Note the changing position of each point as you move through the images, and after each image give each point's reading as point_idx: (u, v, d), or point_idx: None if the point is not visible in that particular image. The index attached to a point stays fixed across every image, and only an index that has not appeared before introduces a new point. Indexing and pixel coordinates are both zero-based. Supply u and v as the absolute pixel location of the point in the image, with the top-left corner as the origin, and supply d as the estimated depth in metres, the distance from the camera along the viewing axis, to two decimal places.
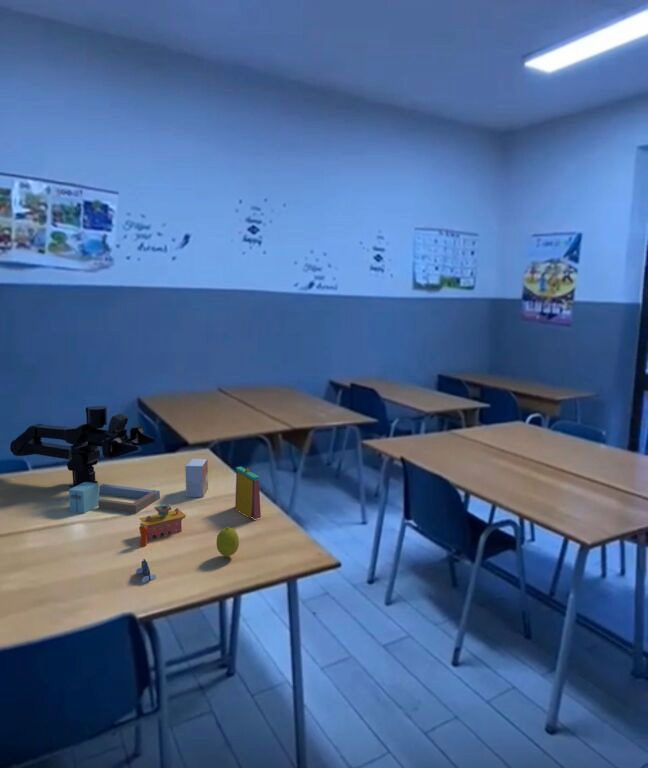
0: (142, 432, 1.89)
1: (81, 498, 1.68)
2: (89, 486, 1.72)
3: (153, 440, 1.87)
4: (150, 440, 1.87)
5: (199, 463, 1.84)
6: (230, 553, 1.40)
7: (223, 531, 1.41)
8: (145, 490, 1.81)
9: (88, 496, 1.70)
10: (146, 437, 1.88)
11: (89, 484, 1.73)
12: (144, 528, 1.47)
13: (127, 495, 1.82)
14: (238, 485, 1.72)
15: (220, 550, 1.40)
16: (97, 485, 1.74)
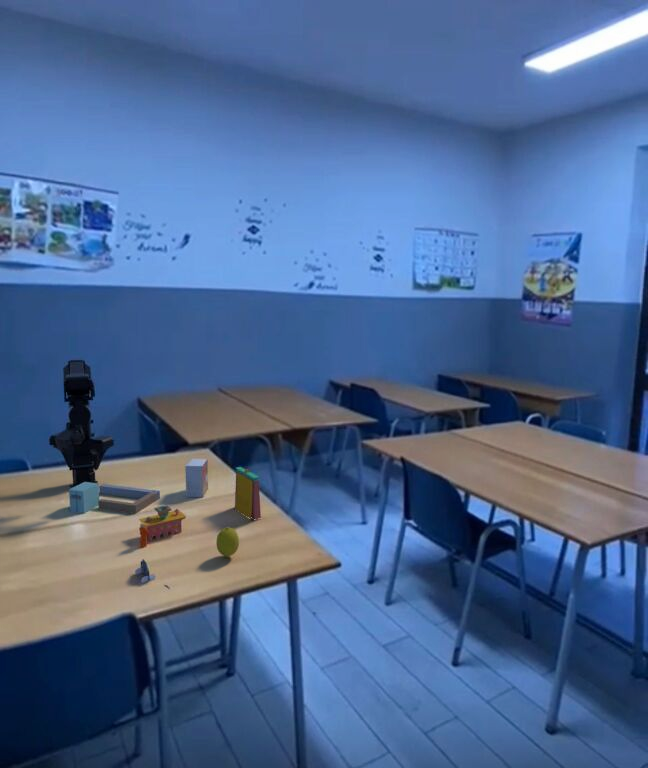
0: (94, 454, 1.67)
1: (81, 498, 1.68)
2: (89, 486, 1.72)
3: None
4: None
5: (199, 463, 1.84)
6: (230, 553, 1.40)
7: (223, 531, 1.41)
8: (145, 490, 1.81)
9: (88, 496, 1.70)
10: None
11: (89, 484, 1.73)
12: (144, 529, 1.47)
13: (127, 495, 1.82)
14: (238, 485, 1.72)
15: (220, 550, 1.40)
16: (97, 485, 1.74)
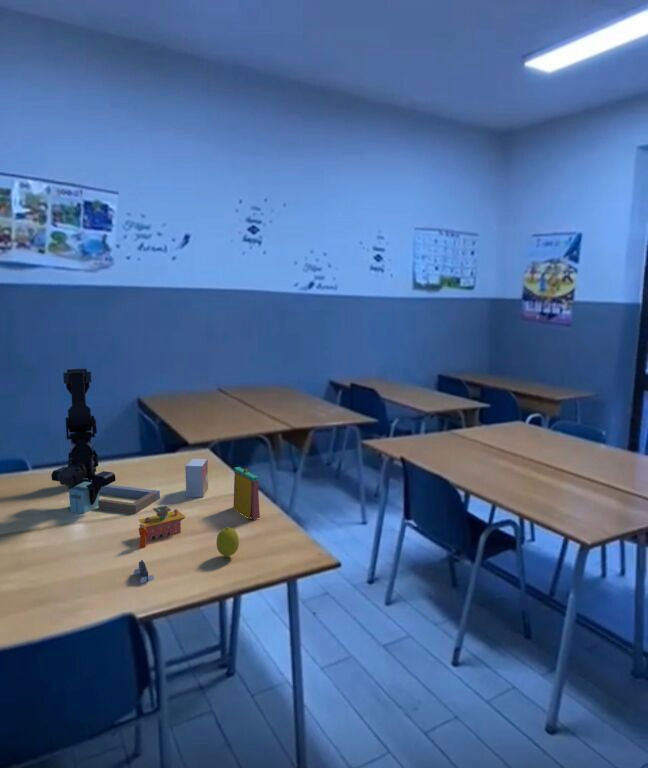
0: (91, 489, 1.69)
1: (81, 498, 1.68)
2: None
3: None
4: None
5: (199, 463, 1.84)
6: (230, 553, 1.40)
7: (223, 531, 1.41)
8: (145, 490, 1.81)
9: (88, 496, 1.70)
10: None
11: None
12: (143, 529, 1.47)
13: (127, 495, 1.82)
14: (236, 485, 1.72)
15: (220, 550, 1.40)
16: None
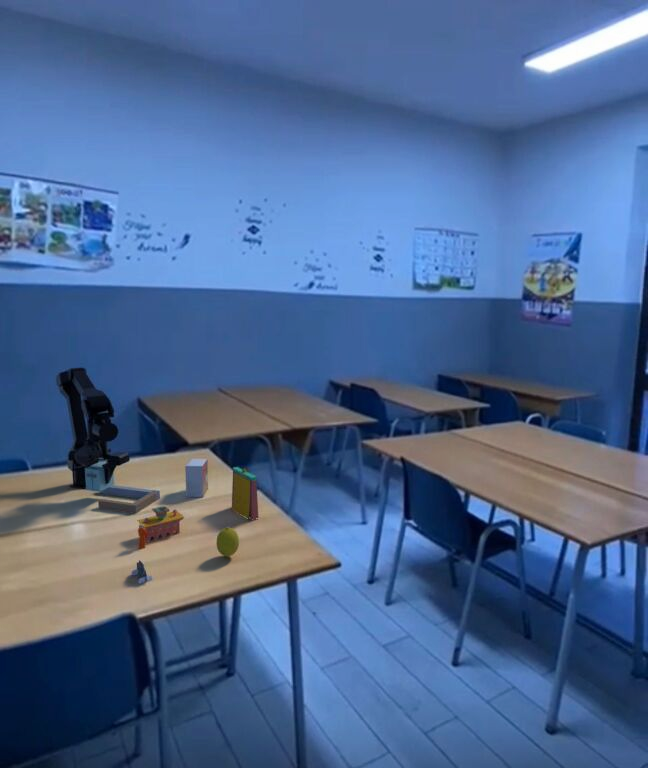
0: (106, 468, 1.75)
1: (97, 477, 1.75)
2: None
3: None
4: None
5: (199, 463, 1.84)
6: (230, 553, 1.40)
7: (223, 531, 1.41)
8: (145, 490, 1.81)
9: (103, 475, 1.76)
10: None
11: None
12: (143, 530, 1.46)
13: (127, 495, 1.82)
14: (235, 485, 1.72)
15: (220, 550, 1.40)
16: None
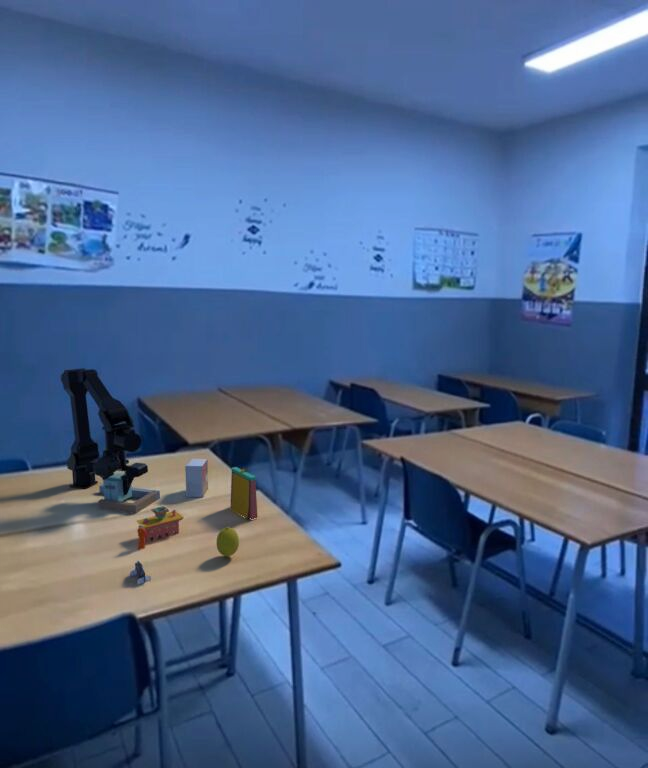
0: (124, 480, 1.74)
1: (115, 488, 1.73)
2: None
3: None
4: None
5: (199, 463, 1.84)
6: (230, 553, 1.40)
7: (223, 531, 1.41)
8: (145, 490, 1.81)
9: (121, 486, 1.75)
10: None
11: (122, 475, 1.78)
12: (142, 530, 1.46)
13: None
14: (233, 485, 1.72)
15: (220, 550, 1.40)
16: None
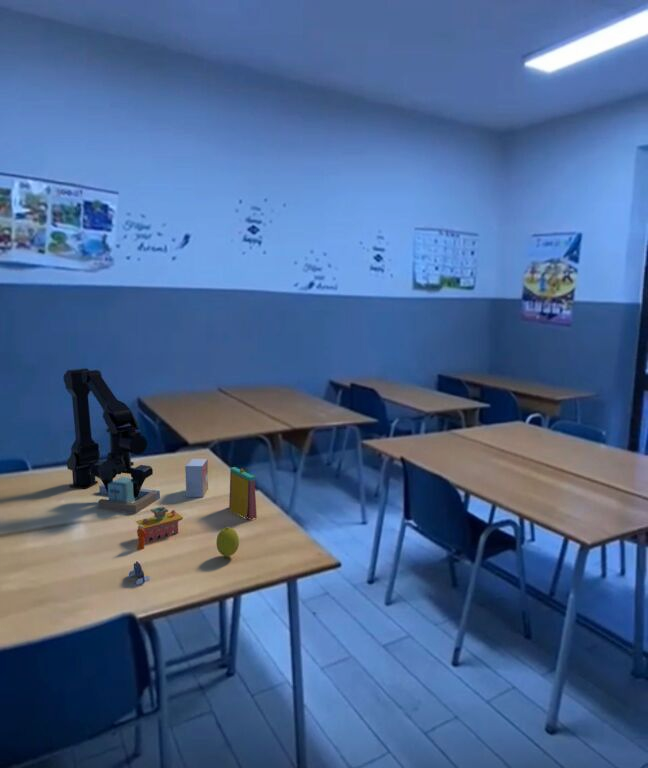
0: (134, 483, 1.73)
1: (120, 492, 1.73)
2: (127, 481, 1.77)
3: None
4: None
5: (199, 463, 1.84)
6: (230, 553, 1.40)
7: (223, 531, 1.41)
8: (145, 490, 1.81)
9: (126, 490, 1.75)
10: None
11: (126, 479, 1.78)
12: (142, 531, 1.46)
13: None
14: (232, 485, 1.72)
15: (220, 550, 1.40)
16: None
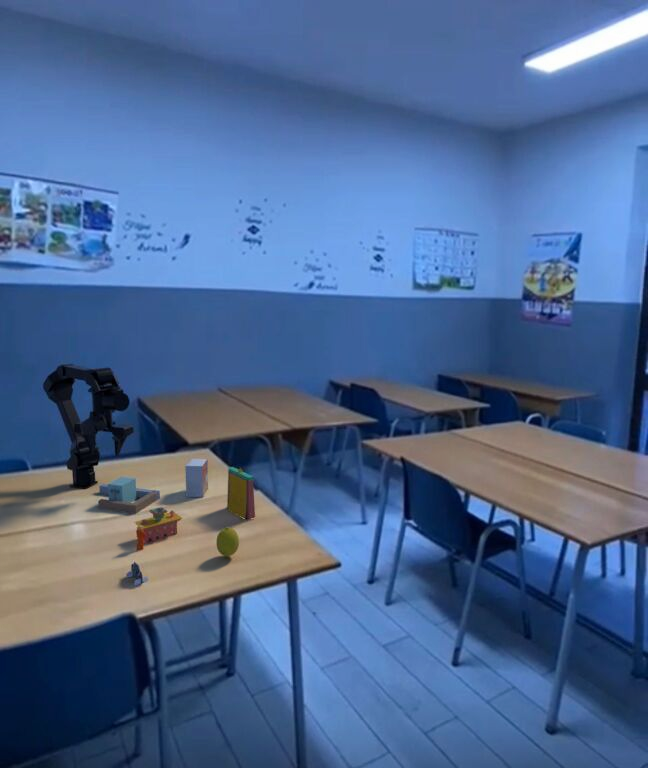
0: (116, 440, 1.79)
1: (120, 492, 1.73)
2: (127, 481, 1.77)
3: None
4: None
5: (199, 463, 1.84)
6: (230, 553, 1.40)
7: (223, 531, 1.41)
8: (145, 490, 1.81)
9: (126, 490, 1.75)
10: None
11: (126, 479, 1.78)
12: (141, 531, 1.45)
13: None
14: (230, 485, 1.72)
15: (220, 550, 1.40)
16: (134, 480, 1.79)
